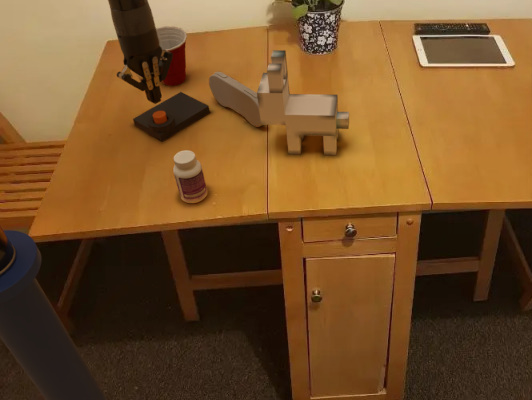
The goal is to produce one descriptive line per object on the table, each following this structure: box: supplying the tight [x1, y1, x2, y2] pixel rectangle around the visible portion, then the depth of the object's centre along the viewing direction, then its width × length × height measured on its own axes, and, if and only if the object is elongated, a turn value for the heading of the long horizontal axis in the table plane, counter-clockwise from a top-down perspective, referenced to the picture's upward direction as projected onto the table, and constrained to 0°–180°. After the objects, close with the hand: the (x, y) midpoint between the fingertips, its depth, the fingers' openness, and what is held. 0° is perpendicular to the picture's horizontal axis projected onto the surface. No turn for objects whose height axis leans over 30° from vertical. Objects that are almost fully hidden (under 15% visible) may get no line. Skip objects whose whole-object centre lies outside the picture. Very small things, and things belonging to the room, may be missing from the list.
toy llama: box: [256, 49, 350, 156], centre depth 118 cm, size 8×18×20 cm, turn 85°
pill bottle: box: [172, 149, 208, 204], centre depth 111 cm, size 5×5×10 cm
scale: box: [132, 91, 211, 142], centre depth 132 cm, size 14×10×4 cm
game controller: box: [208, 71, 263, 128], centre depth 131 cm, size 20×2×8 cm, turn 44°
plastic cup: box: [156, 25, 188, 87], centre depth 142 cm, size 11×11×12 cm
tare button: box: [153, 111, 167, 124], centre depth 127 cm, size 3×3×2 cm
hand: (155, 101), depth 124 cm, fingers closed
